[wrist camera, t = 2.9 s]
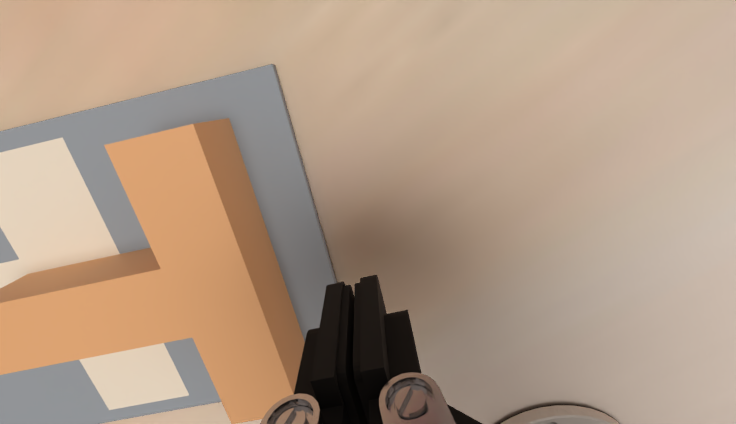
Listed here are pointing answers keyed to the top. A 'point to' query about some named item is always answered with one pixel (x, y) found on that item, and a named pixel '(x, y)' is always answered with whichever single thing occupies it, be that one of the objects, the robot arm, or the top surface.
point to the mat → (143, 236)
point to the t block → (172, 277)
